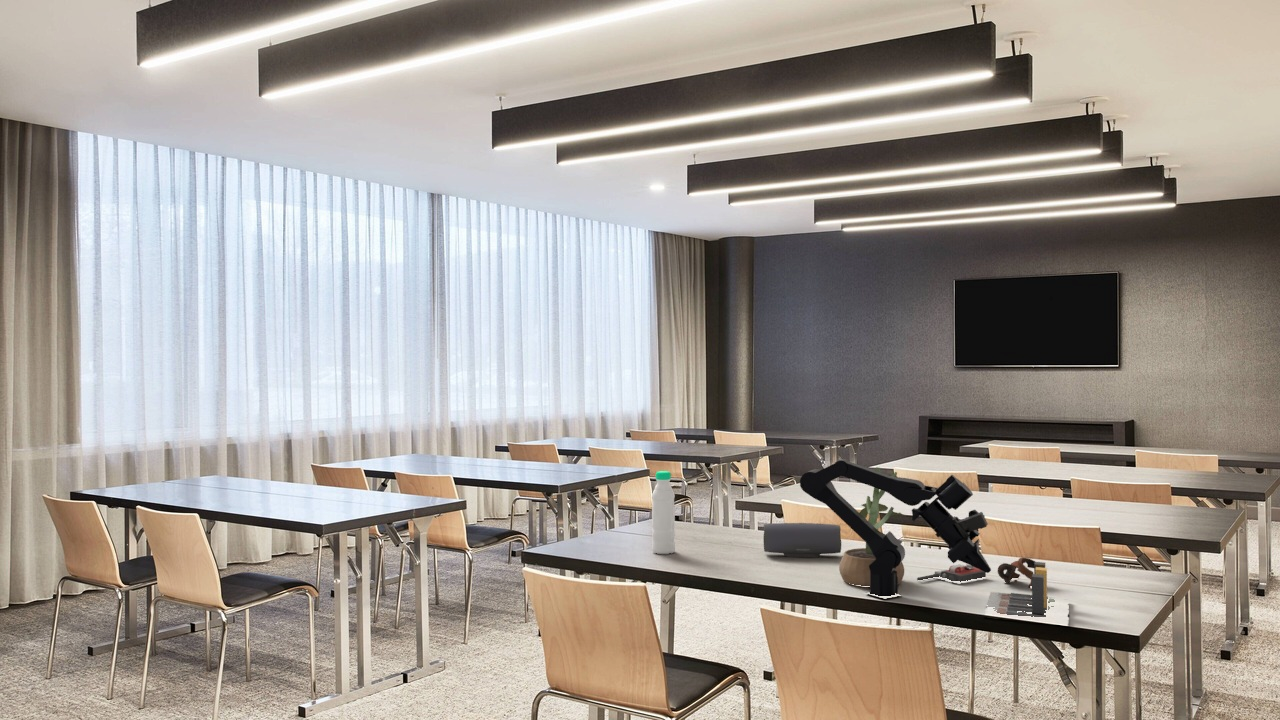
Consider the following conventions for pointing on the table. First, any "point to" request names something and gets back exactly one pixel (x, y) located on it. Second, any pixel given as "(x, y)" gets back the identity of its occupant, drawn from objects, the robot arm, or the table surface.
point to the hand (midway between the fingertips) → (989, 571)
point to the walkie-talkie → (958, 573)
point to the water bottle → (663, 515)
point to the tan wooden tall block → (1044, 572)
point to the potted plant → (858, 560)
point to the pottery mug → (1021, 568)
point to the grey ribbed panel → (1022, 599)
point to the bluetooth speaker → (802, 539)
